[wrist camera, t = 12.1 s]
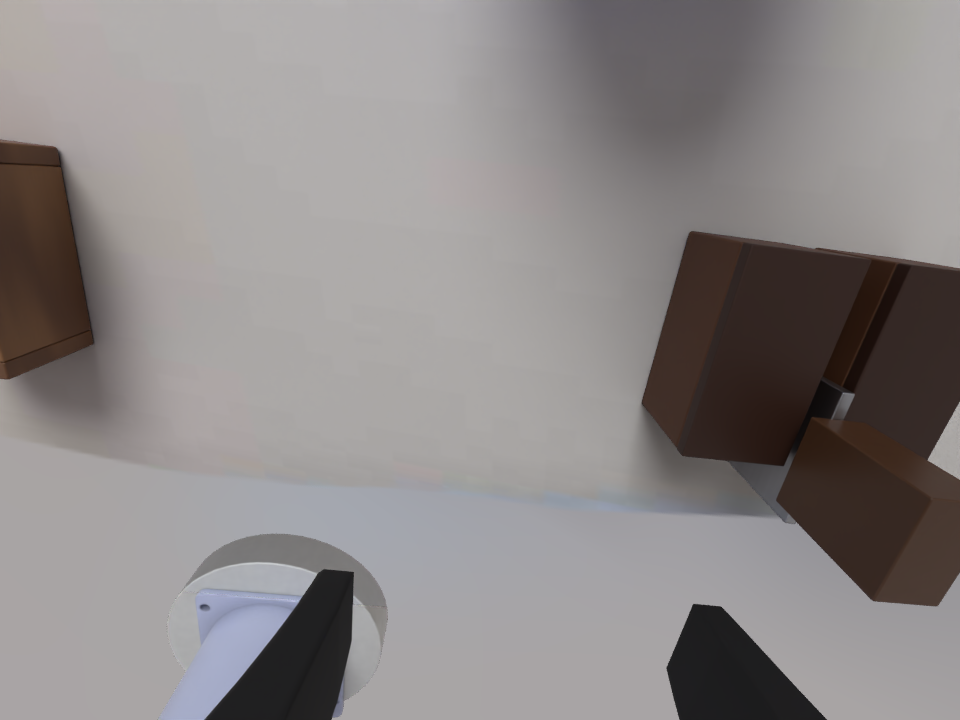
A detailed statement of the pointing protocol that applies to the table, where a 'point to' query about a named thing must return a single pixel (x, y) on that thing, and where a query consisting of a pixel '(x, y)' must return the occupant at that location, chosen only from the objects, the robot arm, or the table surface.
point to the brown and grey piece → (866, 503)
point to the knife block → (37, 263)
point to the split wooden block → (802, 347)
